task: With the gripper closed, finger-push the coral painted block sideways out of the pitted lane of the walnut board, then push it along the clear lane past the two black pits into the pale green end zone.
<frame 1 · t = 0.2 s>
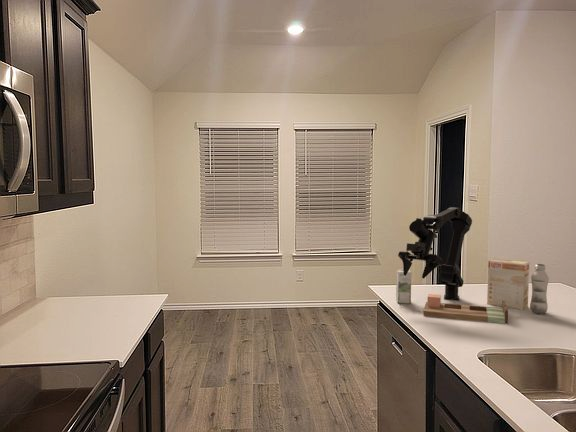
hand: (413, 276, 195), 15 cm above the worktop, tool tilted 30°, fingers open, 9 cm apart
coral block: (434, 305, 198), point 2 cm above the worktop, touching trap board
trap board: (462, 314, 192), on the worktop
plastic bottle: (538, 313, 193), on the worktop
syrup box: (403, 302, 211), on the worktop
coffeecake box: (507, 306, 204), on the worktop
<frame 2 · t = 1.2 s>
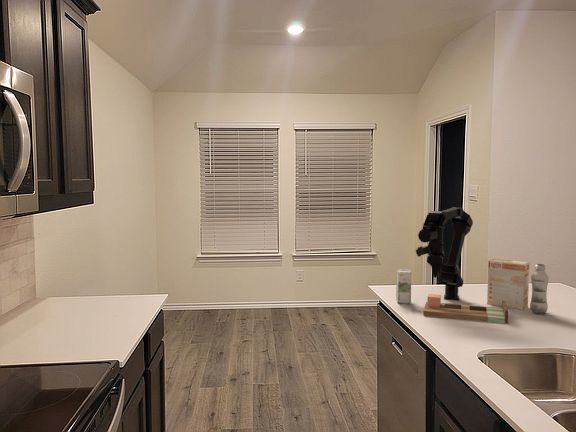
hand: (435, 275, 205), 13 cm above the worktop, tool pointing down, fingers open, 7 cm apart
nothing on the worktop moved.
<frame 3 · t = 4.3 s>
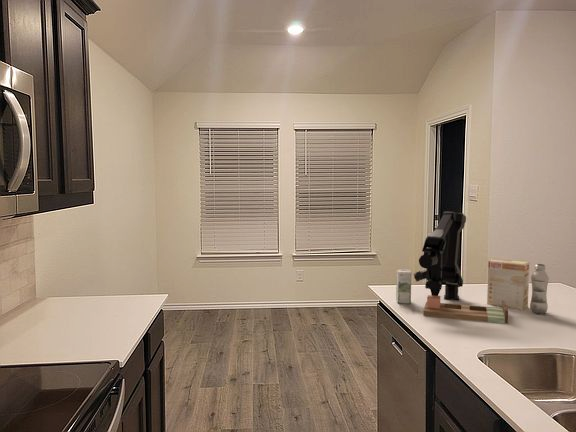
hand: (434, 301, 200), 3 cm above the worktop, tool pointing down, fingers closed
coral block: (433, 306, 196), point 2 cm above the worktop, touching gripper, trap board
everything else where it was.
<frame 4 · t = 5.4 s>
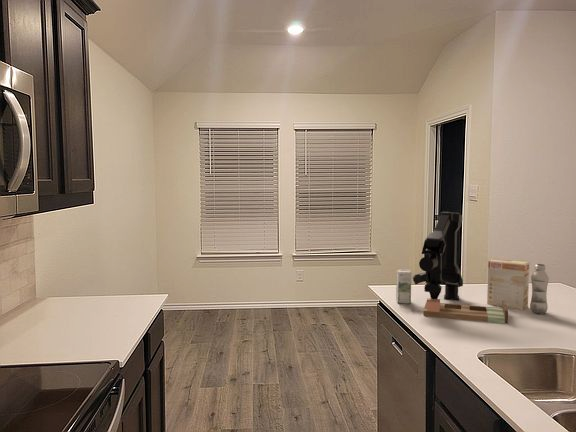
hand: (433, 304, 195), 3 cm above the worktop, tool pointing down, fingers closed
coral block: (433, 309, 191), point 2 cm above the worktop, touching gripper, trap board
everything else where it was.
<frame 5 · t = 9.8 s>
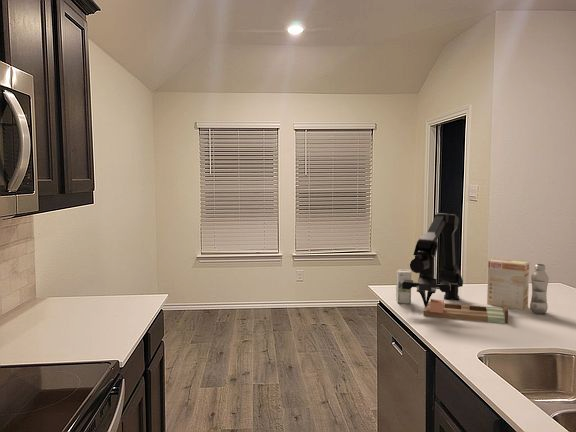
hand: (425, 306, 193), 3 cm above the worktop, tool pointing down, fingers closed
coral block: (436, 310, 190), point 2 cm above the worktop, touching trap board
everything else where it was.
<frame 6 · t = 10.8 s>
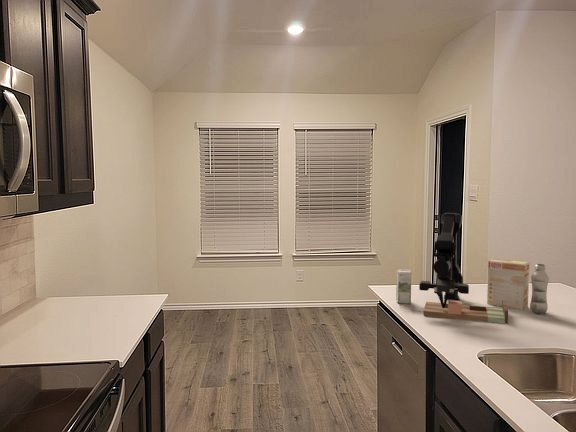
hand: (443, 308, 190), 3 cm above the worktop, tool pointing down, fingers closed
coral block: (454, 312, 188), point 2 cm above the worktop, touching gripper, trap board
everything else where it was.
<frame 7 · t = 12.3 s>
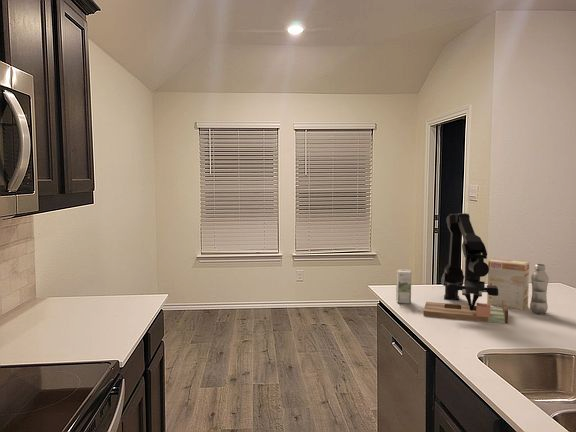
hand: (471, 310, 186), 3 cm above the worktop, tool pointing down, fingers closed
coral block: (483, 315, 184), point 2 cm above the worktop, touching gripper, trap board
everything else where it was.
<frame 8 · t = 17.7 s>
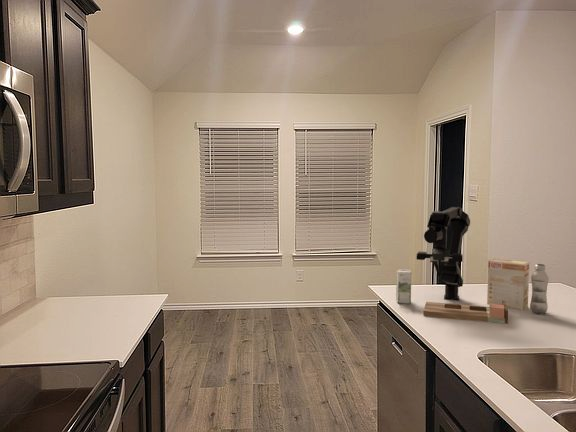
hand: (439, 276, 203), 13 cm above the worktop, tool pointing down, fingers closed
coral block: (496, 316, 182), point 2 cm above the worktop, touching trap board
everything else where it was.
at the end: coral block 1.4 cm from the target spot, point 2.0 cm above the worktop; coral block tilted 0° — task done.
